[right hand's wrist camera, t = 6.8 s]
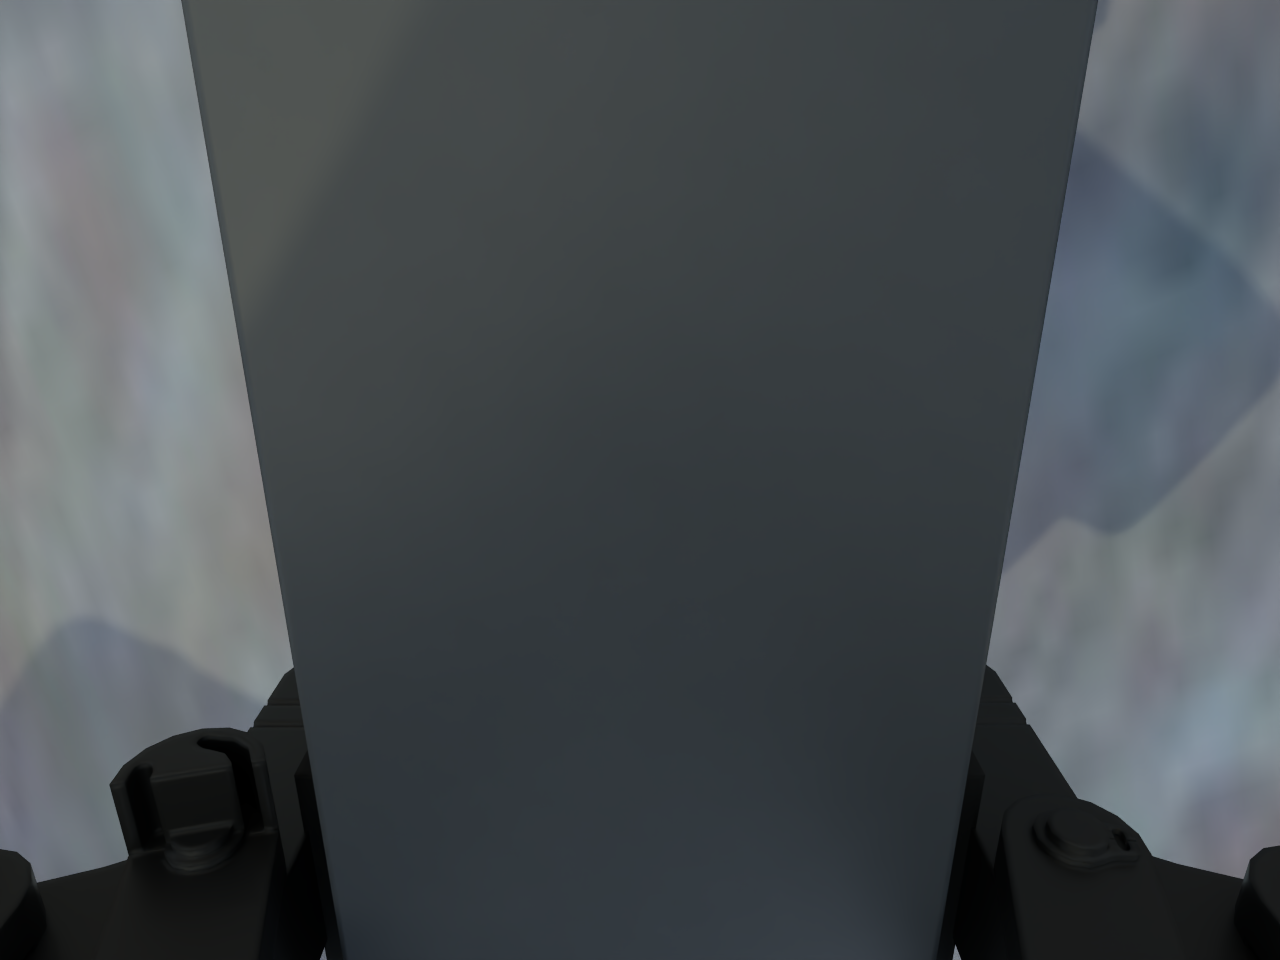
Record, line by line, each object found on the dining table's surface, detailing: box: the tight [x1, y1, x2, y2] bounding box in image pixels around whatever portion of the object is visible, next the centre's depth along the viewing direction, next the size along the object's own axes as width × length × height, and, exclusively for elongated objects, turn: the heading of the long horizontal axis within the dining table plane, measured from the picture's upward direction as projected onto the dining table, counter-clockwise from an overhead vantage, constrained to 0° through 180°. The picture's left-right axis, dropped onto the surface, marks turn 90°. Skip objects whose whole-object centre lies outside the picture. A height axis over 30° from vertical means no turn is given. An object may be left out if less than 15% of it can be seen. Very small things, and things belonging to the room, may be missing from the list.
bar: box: [181, 0, 1098, 960], centre depth 9 cm, size 22×5×8 cm, turn 0°
